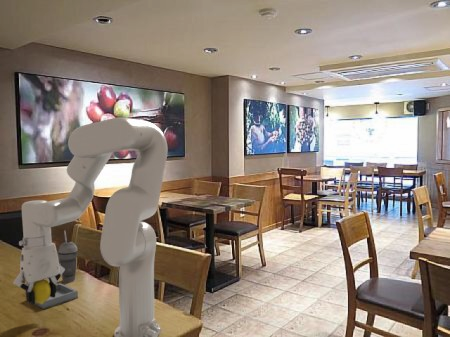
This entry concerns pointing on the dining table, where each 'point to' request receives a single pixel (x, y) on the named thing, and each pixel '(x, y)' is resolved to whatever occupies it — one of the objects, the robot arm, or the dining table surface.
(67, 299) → the tray
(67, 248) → the beverage cup
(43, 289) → the lemon
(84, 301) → the dining table surface
